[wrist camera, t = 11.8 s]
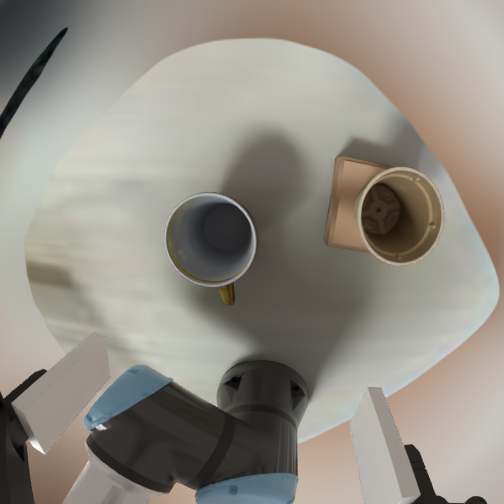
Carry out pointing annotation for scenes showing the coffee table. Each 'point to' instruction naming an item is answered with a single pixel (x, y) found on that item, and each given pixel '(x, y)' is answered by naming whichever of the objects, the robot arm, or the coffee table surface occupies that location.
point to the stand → (349, 201)
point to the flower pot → (400, 216)
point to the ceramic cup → (211, 241)
